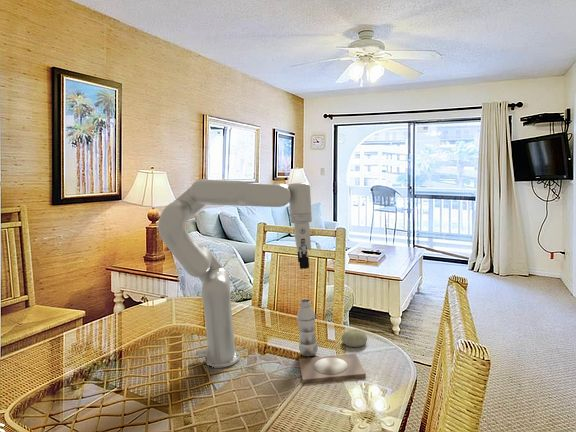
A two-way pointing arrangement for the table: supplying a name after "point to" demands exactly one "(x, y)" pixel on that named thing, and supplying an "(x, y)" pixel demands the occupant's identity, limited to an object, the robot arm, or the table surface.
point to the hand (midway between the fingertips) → (303, 265)
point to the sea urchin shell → (354, 338)
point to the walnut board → (331, 368)
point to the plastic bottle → (307, 329)
